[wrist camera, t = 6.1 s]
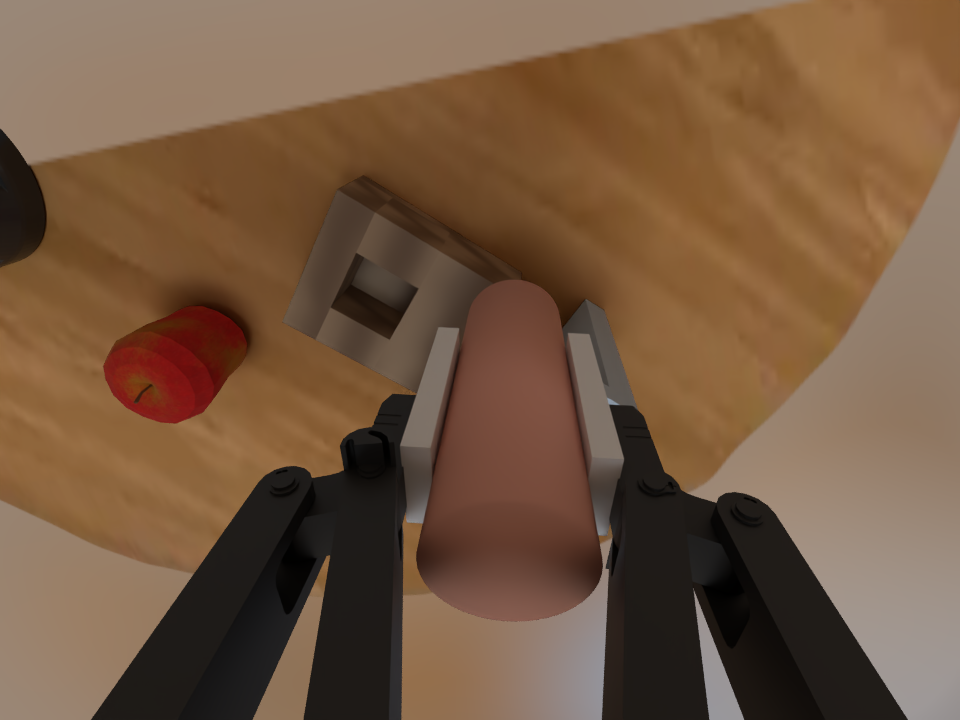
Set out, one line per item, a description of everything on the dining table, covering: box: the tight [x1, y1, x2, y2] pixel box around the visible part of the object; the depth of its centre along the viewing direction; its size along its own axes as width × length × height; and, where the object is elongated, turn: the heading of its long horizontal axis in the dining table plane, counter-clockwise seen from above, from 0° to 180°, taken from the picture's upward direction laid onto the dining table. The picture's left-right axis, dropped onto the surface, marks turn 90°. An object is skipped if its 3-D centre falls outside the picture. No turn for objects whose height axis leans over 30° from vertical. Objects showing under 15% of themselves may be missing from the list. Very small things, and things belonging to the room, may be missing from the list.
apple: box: [103, 306, 247, 423], centre depth 41 cm, size 9×8×12 cm
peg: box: [416, 280, 603, 622], centre depth 15 cm, size 4×4×12 cm
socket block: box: [282, 175, 522, 393], centre depth 39 cm, size 15×12×6 cm
